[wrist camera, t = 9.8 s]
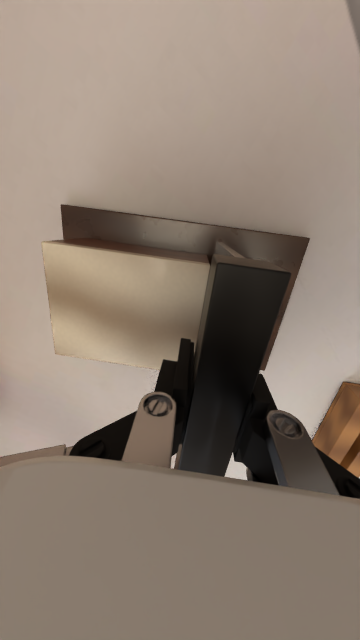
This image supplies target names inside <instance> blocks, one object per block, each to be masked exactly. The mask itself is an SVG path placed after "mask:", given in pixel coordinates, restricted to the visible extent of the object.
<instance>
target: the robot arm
mask: <svg viewBox="0 0 360 640" xmlns="http://www.w3.org/2000/svg"><path fill="white" fill-rule="evenodd" d="M193 361H194V342H191V339H186V338H181V341H180V347H179V354H178V360H177V361H171V360H165V359H163V361H162V365H161V369H160V372H159V376H158V380H157V384H156V387H155V391H154V392H152V393H149V394H147V395H145V396H144V397H143V398H142V399H141V401H140V403H139V407H138V410H137V411H135V412H133V413H131V414H129V415H127V416H125V417H123V418H121V419H119V420H117V421H115V422H113V423H111V424H109V425H107V426H105V427H103V428H102V429H100V430H98V431H96V432H94V433H92V434H90V435H88V436H86V437H84V438H82V439H81V440H79V441H78V442H77V443H76V444H75V445H74V446H71V447H66V444H64V445H59V446H54V447H49V448H44V449H39V450H34V451H28V452H23V453H18V454H13V455H8V456H3V457H0V640H360V479H359V478H358V477H356V476H355V475H354V474H352V473H351V472H349V471H348V470H347V469H345V468H344V467H343V466H341V465H340V464H338V463H337V462H336V461H334V460H333V459H331V458H330V457H329V456H327V455H326V454H325V453H323V452H322V451H320V450H319V449H318V448H316V447H315V446H314V444H313V442H312V440H311V439H310V437H309V435H308V433H307V431H306V429H305V427H304V426H303V424H302V423H301V422H300V421H299V420H298V419H297V418H296V417H294V416H293V415H292V414H290V413H287V412H285V411H281V410H278V409H277V407H276V405H275V402H274V400H273V398H272V395H271V393H270V391H269V389H268V386H267V384H266V382H265V379H264V377H263V375H262V374H258V377H257V380H256V383H255V386H254V389H253V392H252V395H251V398H250V401H249V404H248V407H247V410H246V413H245V416H244V419H243V422H242V425H241V428H240V431H239V434H238V437H237V440H236V443H235V446H234V449H233V454H234V461H236V462H242V463H243V464H244V465H245V466H246V467H247V468H246V474H247V480H248V481H247V480H241V479H235V478H228V477H222V476H216V475H210V474H203V473H197V472H190V471H184V470H177V469H171V468H170V467H171V457H172V456H173V455H174V454H176V453H177V452H178V449H179V444H182V442H183V437H184V432H185V426H186V421H187V416H188V411H189V405H190V400H191V394H192V382H193Z"/></svg>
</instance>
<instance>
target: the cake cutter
mask: <svg viewBox="0 0 360 640" xmlns="http://www.w3.org/2000/svg"><path fill="white" fill-rule="evenodd" d="M290 278H291V273H290V272H289V271H287V270H285V269H283V268H281V267H279V266H277V265H275V264H273V263H271V262H268V261H261V260H254V259H247V258H245V257H243V256H242V255H240V254H239V253H237V252H236V251H234V250H233V249H231V248H230V247H228V246H227V245H225V244H224V243H222V242H216V248H215V253H214V254H213V256H212V261H211V266H210V272H209V277H208V283H207V288H206V294H205V300H204V305H203V311H202V316H201V322H200V327H199V333H198V338H197V344H196V350H195V355H194V361H193V382H192V394H191V400H190V405H189V411H188V416H187V421H186V426H185V432H184V437H183V442H182V444H179V449H178V452H177V455H176V461H175V466H174V469H177V470H184V471H190V472H197V473H203V474H210V475H216V476H222V477H224V476H225V473H226V470H227V467H228V464H229V461H230V458H231V455H232V452H233V449H234V446H235V443H236V440H237V437H238V434H239V431H240V428H241V425H242V422H243V419H244V416H245V413H246V410H247V407H248V404H249V401H250V398H251V395H252V392H253V389H254V386H255V383H256V380H257V377H258V374H259V371H260V368H261V365H262V362H263V359H264V356H265V353H266V350H267V347H268V344H269V341H270V338H271V335H272V332H273V329H274V326H275V323H276V320H277V317H278V314H279V311H280V308H281V305H282V302H283V299H284V296H285V293H286V290H287V287H288V284H289V281H290Z"/></svg>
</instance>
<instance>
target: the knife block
mask: <svg viewBox="0 0 360 640" xmlns="http://www.w3.org/2000/svg"><path fill="white" fill-rule="evenodd" d="M312 442H313V444H314V446H315V447H316V448H318V449H319V450H320V451H322V452H323V453H325V454H326V455H327V456H329V457H330V458H331V459H333V460H334V461H336V462H337V463H338V464H340V465H341V466H343V467H344V468H345V469H347V470H348V471H349V472H351V473H352V474H354V475H355V476H356V477H358V478H359V476H360V384H354V383H347V382H343V384H342V386H341V387H340V389H339V391H338V393H337V395H336V397H335V399H334V401H333V402H332V404H331V406H330V408H329V410H328V412H327V414H326V416H325V417H324V419H323V421H322V423H321V425H320V427H319V429H318V430H317V432H316V434H315V436H314V438H313V440H312Z"/></svg>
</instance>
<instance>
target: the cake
mask: <svg viewBox="0 0 360 640" xmlns="http://www.w3.org/2000/svg"><path fill="white" fill-rule="evenodd" d="M61 215H62V227H63V238H64V240H54V241H43V242H41V244H42V252H43V260H44V268H45V276H46V284H47V292H48V300H49V308H50V316H51V324H52V332H53V340H54V348H55V354H57V355H64V356H70V357H77V358H84V359H90V360H97V361H103V362H110V363H116V364H123V365H130V366H136V367H143V368H149V369H156V370H160V369H161V365H162V361H163V359H165V360H171V361H177V360H178V354H179V347H180V341H181V338H186V339H191V342H194V355H195V350H196V344H197V338H198V333H199V327H200V322H201V316H202V311H203V305H204V300H205V294H206V288H207V283H208V277H209V272H210V266H211V261H212V256H213V254H214V253H215V248H216V242H222V243H224V244H225V245H227V246H228V247H230V248H231V249H233V250H234V251H236V252H237V253H239V254H240V255H242V256H243V257H245V258H247V259H254V260H261V261H268V262H271V263H273V264H275V265H277V266H279V267H281V268H283V269H285V270H287V271H289V272H290V273H291V278H290V281H289V284H288V287H287V290H286V293H285V296H284V299H283V302H282V305H281V308H280V311H279V314H278V317H277V320H276V323H275V326H274V329H273V332H272V335H271V338H270V341H269V344H268V347H267V350H266V353H265V356H264V359H263V362H262V365H261V368H260V370H265V368H266V365H267V362H268V359H269V357H270V354H271V351H272V348H273V345H274V342H275V339H276V336H277V333H278V330H279V327H280V324H281V322H282V319H283V316H284V313H285V310H286V307H287V304H288V301H289V298H290V295H291V292H292V289H293V287H294V284H295V281H296V278H297V275H298V272H299V269H300V266H301V263H302V260H303V257H304V255H305V252H306V249H307V246H308V243H309V240H310V238H305V237H298V236H290V235H283V234H276V233H268V232H261V231H254V230H246V229H239V228H232V227H224V226H217V225H209V224H202V223H195V222H187V221H180V220H173V219H165V218H158V217H151V216H143V215H136V214H129V213H121V212H114V211H106V210H99V209H92V208H84V207H77V206H70V205H61Z"/></svg>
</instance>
